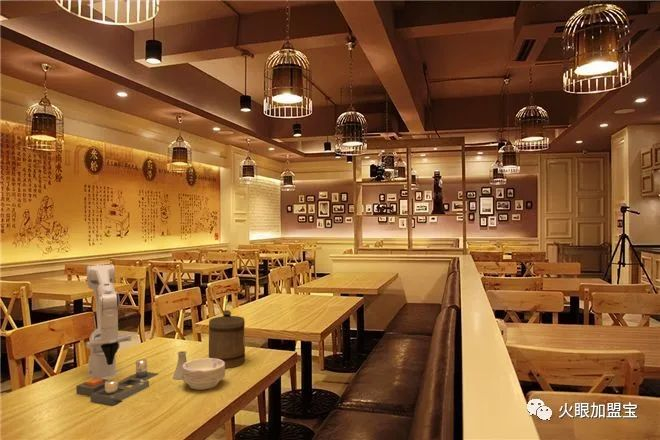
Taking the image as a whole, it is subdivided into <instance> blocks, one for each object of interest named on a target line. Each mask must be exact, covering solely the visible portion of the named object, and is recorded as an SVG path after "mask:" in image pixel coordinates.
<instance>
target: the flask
mask: <svg viewBox="0 0 660 440" xmlns="http://www.w3.org/2000/svg"><path fill="white" fill-rule="evenodd" d="M186 355H187V350H181V351H180V350H179V351H178V352H177V358H178V359H177V365H176V366H175V371H174V373H173V376H172V380H175V381H183V380H182V366H183V364H184V363H186V362H188V361H187V356H186Z"/></svg>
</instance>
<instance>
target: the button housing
mask: <svg viewBox="0 0 660 440" xmlns="http://www.w3.org/2000/svg"><path fill="white" fill-rule="evenodd" d="M99 379H100V378H99ZM108 380H109V379H108V378H107V379H104V378H103V383H101V384H98V385H96V386H89V385H86V381H84V382H82V383H79V384H77V385H76V387H75V388H76V389H75V390H76V395H80V396H85V397H90V398H91V394H92V393H94V392H96V391H99V390H101V389H103V388H105V382H106V381H108Z"/></svg>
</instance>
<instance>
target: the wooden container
mask: <svg viewBox="0 0 660 440" xmlns="http://www.w3.org/2000/svg"><path fill="white" fill-rule="evenodd" d="M222 315H223V316H217V317H214V318H211V319H209V321H208V358H216V359H220V360H222V361H224V362H225V369H232V368H237V367H240V366H242V365H244V363H246V343H245V342H246V341H245V337H246V336H245V325H246V324H245V318H244V317H242V316H239V315H237V316H236V315H232V312H231V311H230V310H229V309H227V310H223V312H222Z"/></svg>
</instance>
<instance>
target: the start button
mask: <svg viewBox="0 0 660 440" xmlns="http://www.w3.org/2000/svg"><path fill="white" fill-rule="evenodd" d="M103 379H104V378H103ZM103 379H99V378H94V377H92V378H91V379H88V380H86V381H85V382H86V385H89V386H96V385H98V384H101V383H103Z"/></svg>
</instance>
